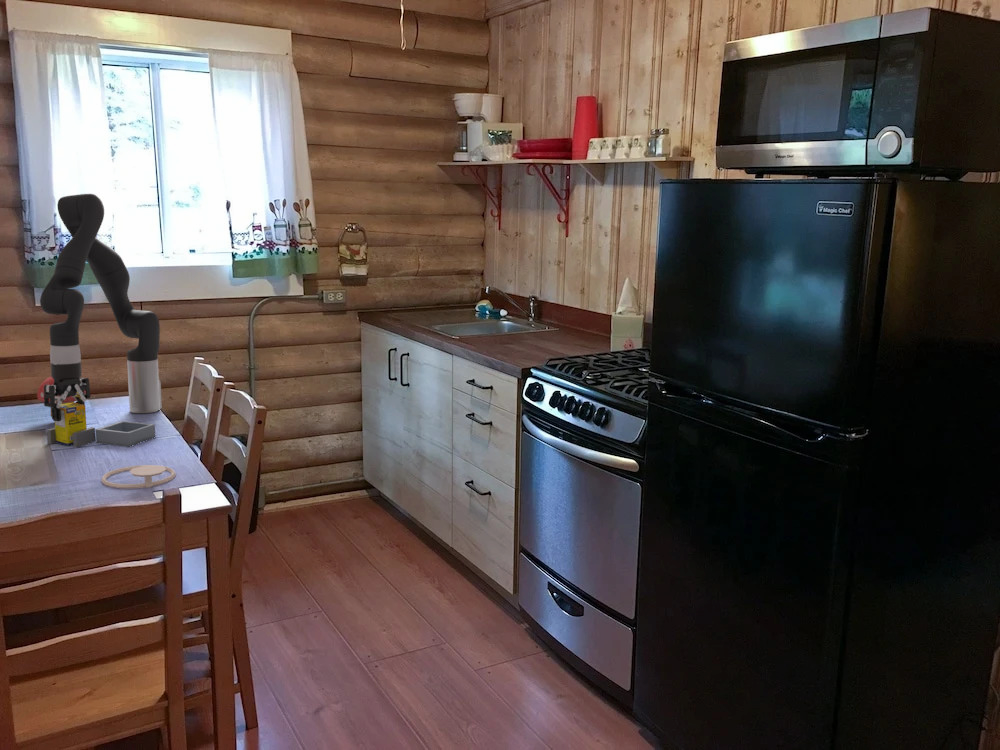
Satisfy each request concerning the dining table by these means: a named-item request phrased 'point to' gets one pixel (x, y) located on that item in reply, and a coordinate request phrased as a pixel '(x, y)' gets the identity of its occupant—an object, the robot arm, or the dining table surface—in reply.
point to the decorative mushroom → (41, 397)
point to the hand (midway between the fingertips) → (68, 417)
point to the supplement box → (70, 422)
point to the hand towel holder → (140, 471)
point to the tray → (125, 433)
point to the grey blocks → (75, 437)
